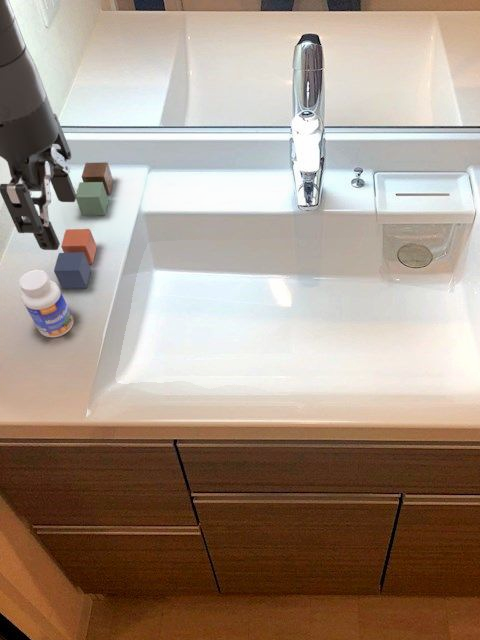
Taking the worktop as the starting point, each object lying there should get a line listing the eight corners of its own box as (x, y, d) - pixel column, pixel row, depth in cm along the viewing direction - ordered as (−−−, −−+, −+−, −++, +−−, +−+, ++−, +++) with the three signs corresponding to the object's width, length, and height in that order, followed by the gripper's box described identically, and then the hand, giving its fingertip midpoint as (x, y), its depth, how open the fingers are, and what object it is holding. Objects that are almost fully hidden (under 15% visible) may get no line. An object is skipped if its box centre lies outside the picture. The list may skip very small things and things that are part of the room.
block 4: (62, 288, 101) (53, 270, 98) (67, 270, 104) (58, 252, 100) (86, 288, 101) (79, 270, 98) (91, 270, 104) (83, 252, 100)
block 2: (82, 216, 111) (75, 197, 108) (86, 201, 113) (79, 182, 110) (105, 215, 111) (98, 196, 108) (108, 200, 113) (102, 181, 110)
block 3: (68, 264, 104) (60, 246, 101) (73, 247, 107) (65, 229, 103) (92, 264, 104) (85, 245, 101) (97, 247, 107) (90, 228, 103)
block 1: (88, 195, 114) (81, 176, 111) (92, 181, 116) (85, 162, 113) (110, 195, 114) (104, 176, 111) (113, 181, 116) (107, 162, 113)
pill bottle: (57, 343, 95) (33, 299, 87) (31, 329, 97) (5, 284, 89) (81, 320, 98) (60, 274, 89) (56, 306, 99) (33, 261, 91)
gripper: (-8, 58, 68) (45, 185, 81) (-55, 139, 60) (12, 264, 73) (61, 59, 67) (102, 186, 81) (23, 140, 59) (76, 265, 73)
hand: (59, 223), depth 77 cm, fingers open, 8 cm apart
